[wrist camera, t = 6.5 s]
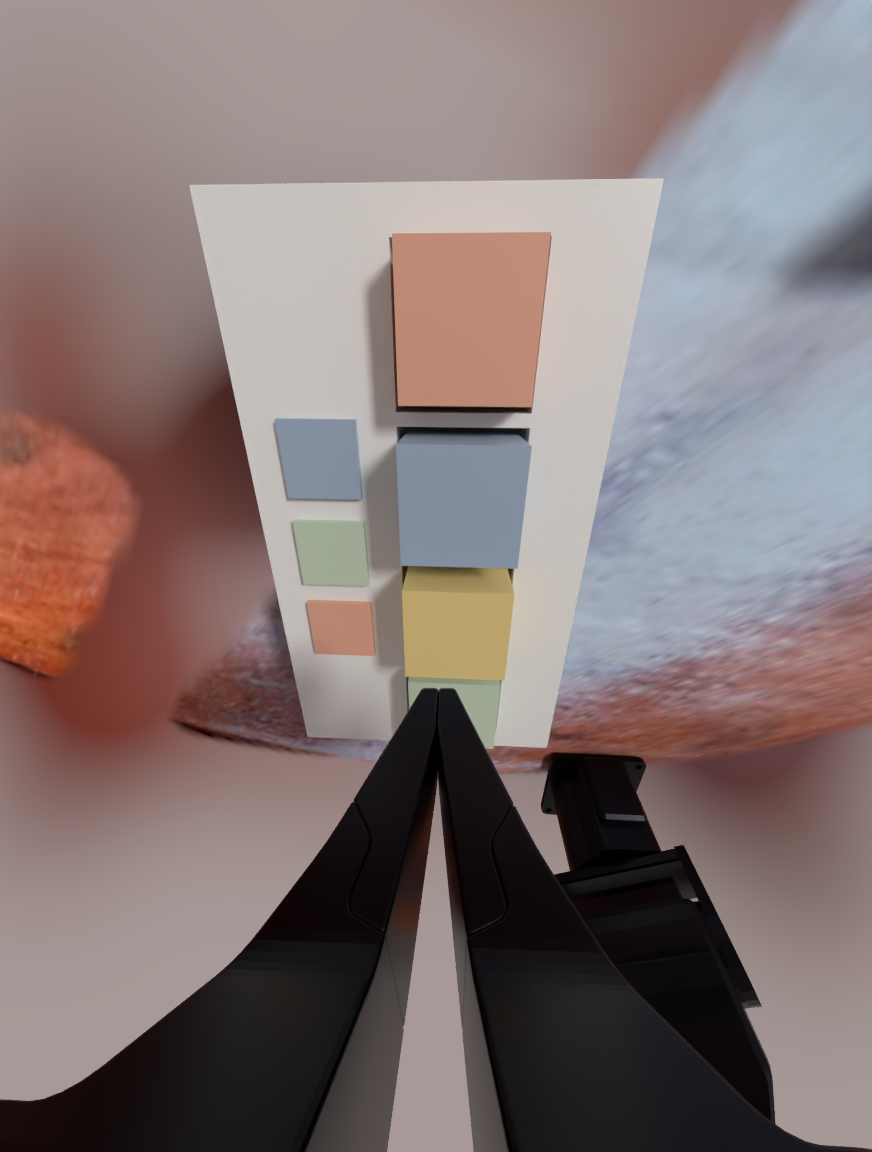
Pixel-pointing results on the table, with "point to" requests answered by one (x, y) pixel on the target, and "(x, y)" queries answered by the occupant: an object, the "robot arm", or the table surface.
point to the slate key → (461, 498)
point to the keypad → (412, 415)
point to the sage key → (468, 701)
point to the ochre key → (457, 622)
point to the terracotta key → (468, 317)
